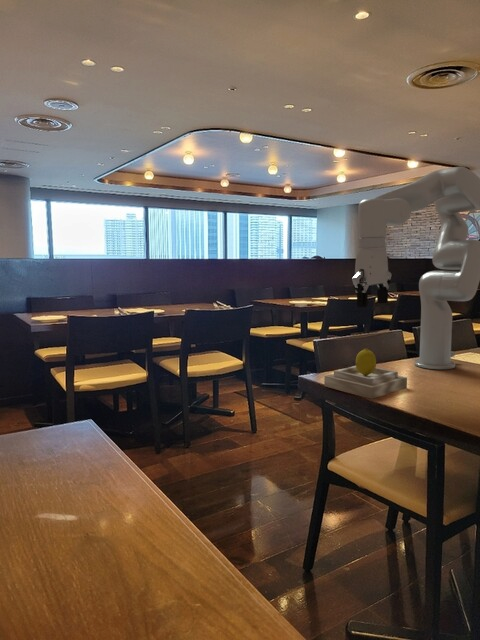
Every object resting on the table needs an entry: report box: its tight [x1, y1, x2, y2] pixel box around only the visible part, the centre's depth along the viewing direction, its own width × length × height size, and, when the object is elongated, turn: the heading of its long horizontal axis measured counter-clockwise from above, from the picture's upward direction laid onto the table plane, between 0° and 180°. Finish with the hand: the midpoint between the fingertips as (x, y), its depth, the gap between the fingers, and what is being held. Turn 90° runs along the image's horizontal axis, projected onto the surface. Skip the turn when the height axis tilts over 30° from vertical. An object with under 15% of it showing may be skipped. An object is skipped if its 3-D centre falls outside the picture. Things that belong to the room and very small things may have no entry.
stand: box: [323, 365, 408, 400], centre depth 129 cm, size 16×16×4 cm
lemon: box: [355, 348, 377, 377], centre depth 128 cm, size 6×6×8 cm
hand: (372, 304), depth 131 cm, fingers open, 9 cm apart
